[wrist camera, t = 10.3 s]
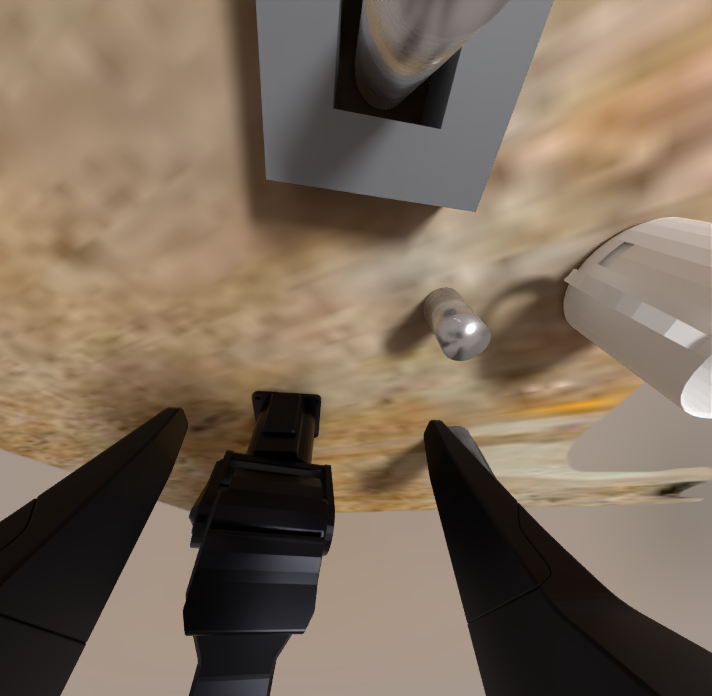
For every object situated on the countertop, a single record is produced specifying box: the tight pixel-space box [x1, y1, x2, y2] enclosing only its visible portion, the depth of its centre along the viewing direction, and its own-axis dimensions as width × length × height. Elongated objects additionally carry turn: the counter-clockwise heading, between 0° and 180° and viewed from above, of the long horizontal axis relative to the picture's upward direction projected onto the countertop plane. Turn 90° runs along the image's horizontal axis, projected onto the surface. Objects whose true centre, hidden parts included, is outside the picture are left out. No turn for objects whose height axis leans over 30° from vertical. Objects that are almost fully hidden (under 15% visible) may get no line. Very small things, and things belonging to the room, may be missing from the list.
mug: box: [563, 217, 712, 418], centre depth 16 cm, size 12×9×9 cm
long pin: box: [355, 0, 509, 110], centre depth 8 cm, size 3×3×10 cm
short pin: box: [423, 288, 491, 361], centre depth 18 cm, size 3×3×5 cm
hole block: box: [256, 0, 554, 212], centre depth 11 cm, size 10×10×4 cm
